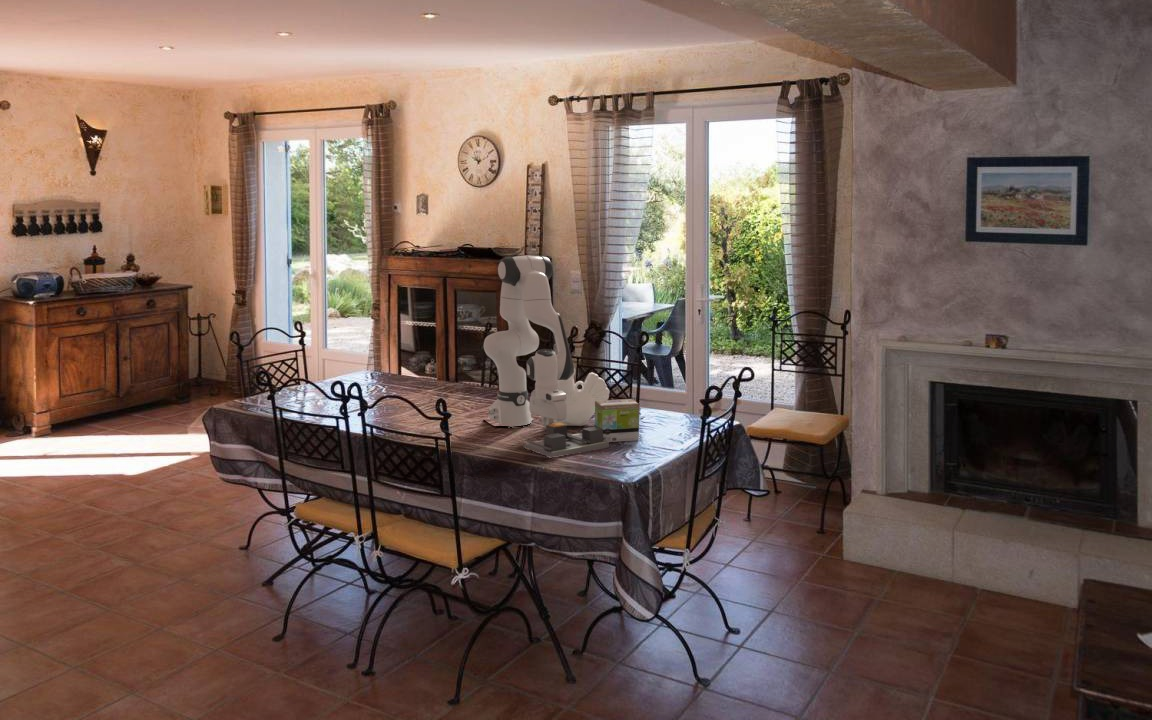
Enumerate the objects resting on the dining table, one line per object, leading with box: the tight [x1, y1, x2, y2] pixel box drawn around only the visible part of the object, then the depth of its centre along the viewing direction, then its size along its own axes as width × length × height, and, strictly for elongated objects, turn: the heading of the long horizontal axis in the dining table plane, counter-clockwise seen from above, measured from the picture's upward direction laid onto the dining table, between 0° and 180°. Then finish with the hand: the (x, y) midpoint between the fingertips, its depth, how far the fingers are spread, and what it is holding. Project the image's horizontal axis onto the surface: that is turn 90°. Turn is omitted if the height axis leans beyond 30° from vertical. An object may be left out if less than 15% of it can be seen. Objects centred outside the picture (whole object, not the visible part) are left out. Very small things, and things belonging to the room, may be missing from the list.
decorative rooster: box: [553, 368, 610, 427], centre depth 405 cm, size 25×16×25 cm, turn 95°
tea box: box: [594, 398, 640, 443], centre depth 381 cm, size 15×10×15 cm, turn 105°
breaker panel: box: [523, 425, 610, 457], centre depth 370 cm, size 18×26×7 cm
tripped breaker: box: [540, 422, 573, 441], centre depth 374 cm, size 9×9×6 cm
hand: (547, 428), depth 379 cm, fingers closed
